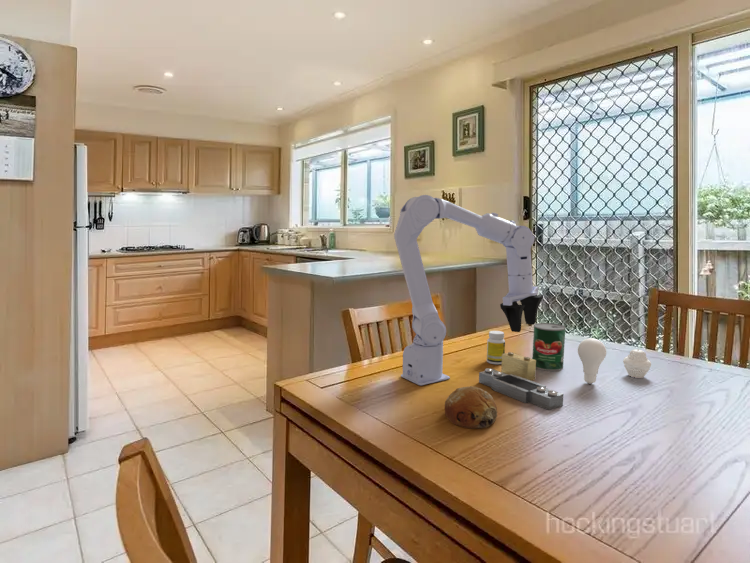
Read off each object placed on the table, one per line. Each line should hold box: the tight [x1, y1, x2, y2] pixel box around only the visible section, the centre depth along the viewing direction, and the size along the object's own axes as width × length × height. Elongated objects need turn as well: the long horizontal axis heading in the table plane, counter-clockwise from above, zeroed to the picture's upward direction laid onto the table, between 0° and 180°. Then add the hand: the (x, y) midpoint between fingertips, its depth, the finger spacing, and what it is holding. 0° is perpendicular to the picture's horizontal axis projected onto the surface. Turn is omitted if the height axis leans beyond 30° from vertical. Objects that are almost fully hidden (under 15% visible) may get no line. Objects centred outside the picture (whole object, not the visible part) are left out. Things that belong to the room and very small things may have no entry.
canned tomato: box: [531, 322, 567, 372], centre depth 122 cm, size 8×8×11 cm
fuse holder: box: [478, 367, 564, 411], centre depth 103 cm, size 7×20×3 cm, turn 33°
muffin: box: [622, 348, 652, 379], centre depth 114 cm, size 6×6×7 cm
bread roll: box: [444, 385, 498, 429], centre depth 90 cm, size 10×10×8 cm
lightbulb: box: [577, 337, 607, 385], centre depth 109 cm, size 6×6×11 cm
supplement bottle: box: [486, 330, 506, 365], centre depth 125 cm, size 5×5×8 cm
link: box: [500, 351, 537, 381], centre depth 114 cm, size 3×8×5 cm, turn 33°
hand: (523, 327), depth 115 cm, fingers open, 7 cm apart
